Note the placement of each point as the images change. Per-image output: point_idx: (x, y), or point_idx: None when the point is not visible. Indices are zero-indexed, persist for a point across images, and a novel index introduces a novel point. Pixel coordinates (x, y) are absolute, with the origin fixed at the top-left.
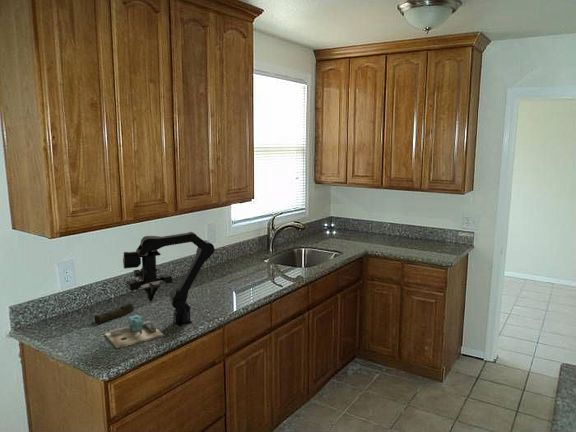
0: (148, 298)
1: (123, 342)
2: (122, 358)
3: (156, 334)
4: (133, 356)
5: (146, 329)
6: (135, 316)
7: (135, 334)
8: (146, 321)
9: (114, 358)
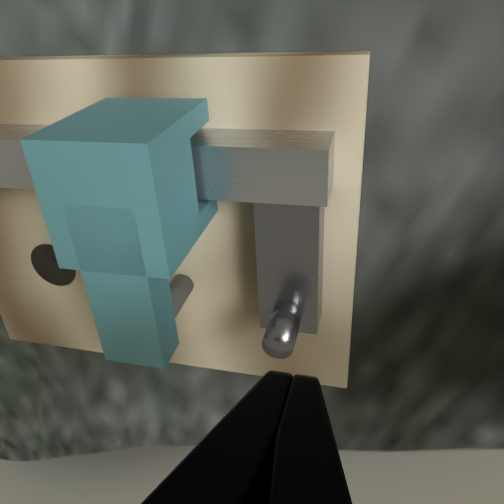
0: (232, 419)
1: (49, 315)
2: (47, 431)
3: (297, 357)
4: (99, 449)
5: None
6: (107, 180)
7: None
8: (287, 147)
9: (10, 408)
